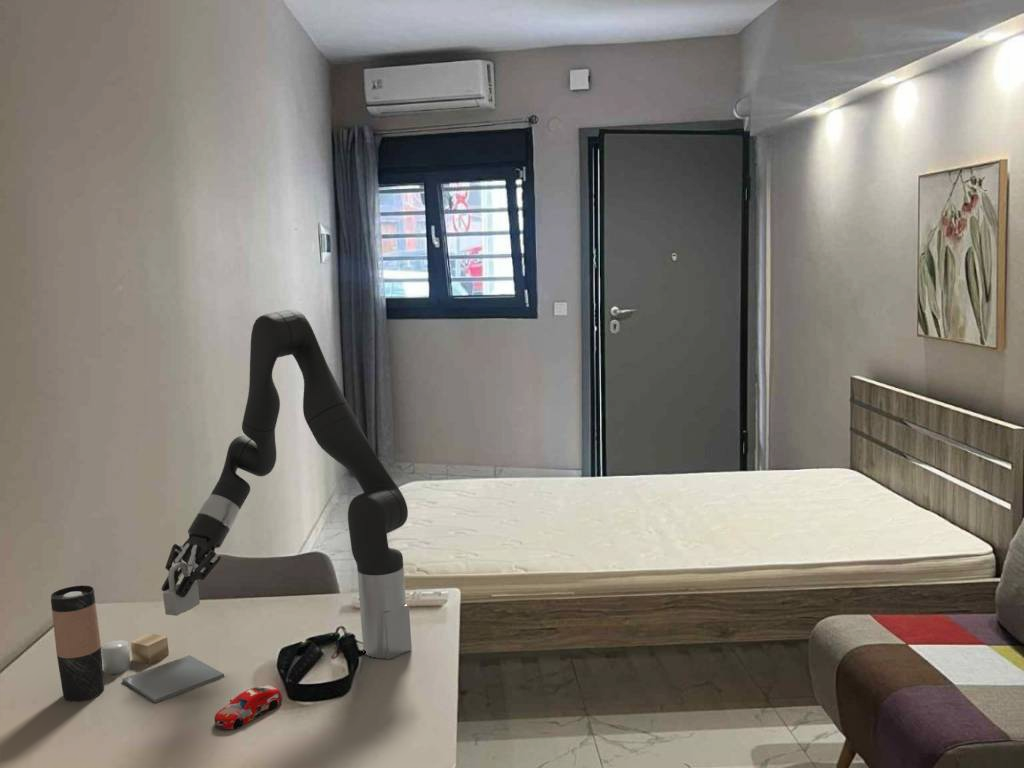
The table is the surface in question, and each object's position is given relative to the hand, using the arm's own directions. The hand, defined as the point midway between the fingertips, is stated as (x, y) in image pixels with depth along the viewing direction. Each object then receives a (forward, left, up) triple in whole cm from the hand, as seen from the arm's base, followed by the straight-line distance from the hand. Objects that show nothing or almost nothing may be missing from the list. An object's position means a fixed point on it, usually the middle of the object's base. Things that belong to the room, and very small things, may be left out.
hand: (172, 593), depth 199 cm
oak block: (+3, +4, -13) cm, 14 cm away
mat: (-11, +6, -13) cm, 18 cm away
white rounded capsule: (+3, +11, -13) cm, 18 cm away
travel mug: (-3, +20, -13) cm, 24 cm away
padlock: (0, -2, -4) cm, 5 cm away
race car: (-35, +5, -14) cm, 38 cm away
